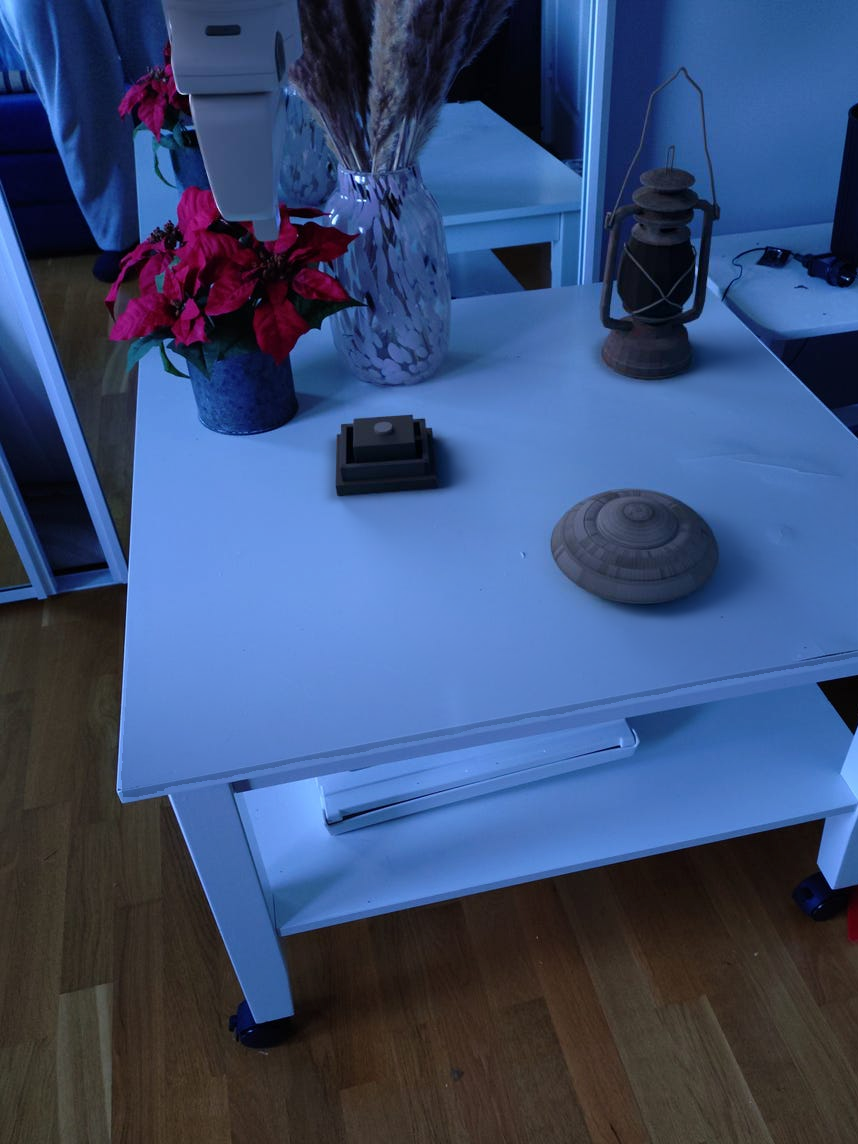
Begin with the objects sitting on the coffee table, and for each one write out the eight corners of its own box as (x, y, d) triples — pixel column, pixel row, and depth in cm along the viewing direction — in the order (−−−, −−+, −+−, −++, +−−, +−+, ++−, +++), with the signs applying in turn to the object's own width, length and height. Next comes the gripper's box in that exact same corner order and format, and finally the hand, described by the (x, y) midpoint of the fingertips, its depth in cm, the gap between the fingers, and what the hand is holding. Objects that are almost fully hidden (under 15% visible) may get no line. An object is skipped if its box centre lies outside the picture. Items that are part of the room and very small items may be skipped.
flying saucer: (534, 516, 89) (536, 469, 85) (685, 497, 91) (694, 450, 87) (571, 626, 79) (574, 578, 75) (740, 603, 80) (752, 555, 76)
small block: (356, 472, 93) (352, 443, 90) (356, 443, 96) (352, 414, 94) (417, 467, 93) (414, 438, 90) (414, 439, 96) (412, 410, 94)
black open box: (337, 495, 92) (333, 472, 90) (338, 443, 98) (334, 420, 96) (437, 488, 93) (436, 465, 90) (432, 436, 99) (431, 414, 97)
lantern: (683, 328, 114) (724, 45, 92) (712, 373, 106) (765, 77, 85) (584, 339, 112) (602, 54, 91) (607, 385, 105) (633, 88, 83)
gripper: (204, -7, 70) (239, 185, 80) (166, 72, 56) (215, 294, 66) (288, -10, 70) (313, 182, 80) (272, 69, 56) (305, 289, 66)
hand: (268, 233), depth 73 cm, fingers closed
